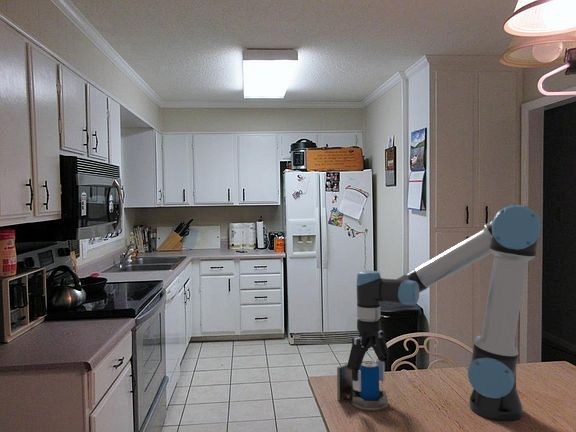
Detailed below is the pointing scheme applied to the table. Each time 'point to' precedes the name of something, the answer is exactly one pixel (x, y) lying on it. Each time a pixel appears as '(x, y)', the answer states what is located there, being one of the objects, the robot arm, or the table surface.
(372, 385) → the beverage can
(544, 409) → the table surface
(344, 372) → the cup bracket
